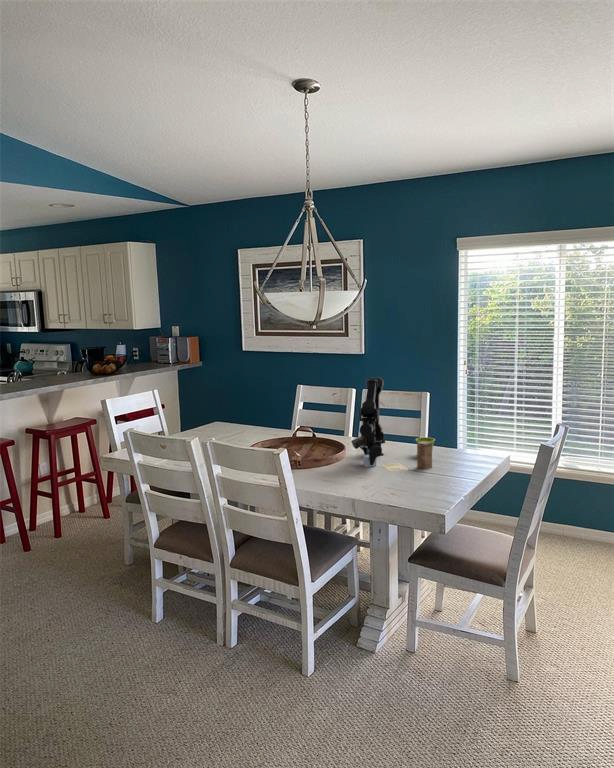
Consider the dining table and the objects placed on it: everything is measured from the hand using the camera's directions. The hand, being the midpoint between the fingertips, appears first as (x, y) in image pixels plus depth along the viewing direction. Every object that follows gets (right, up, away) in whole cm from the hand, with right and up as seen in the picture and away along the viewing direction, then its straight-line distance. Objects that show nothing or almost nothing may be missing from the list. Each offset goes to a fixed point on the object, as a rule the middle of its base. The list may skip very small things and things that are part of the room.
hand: (369, 463), depth 283 cm
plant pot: (+30, +2, +14) cm, 33 cm away
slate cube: (0, -1, 0) cm, 1 cm away
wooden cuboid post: (+25, -1, -6) cm, 26 cm away
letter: (+11, -1, -4) cm, 12 cm away
